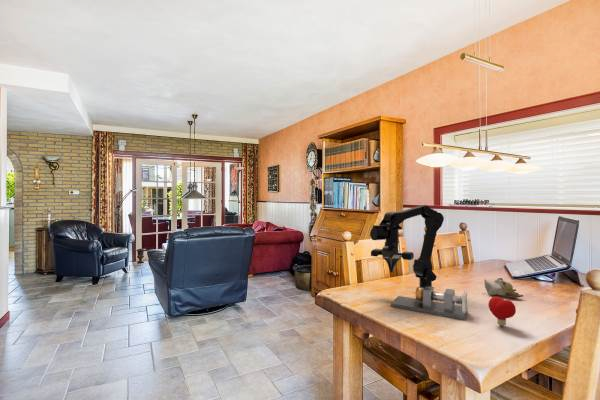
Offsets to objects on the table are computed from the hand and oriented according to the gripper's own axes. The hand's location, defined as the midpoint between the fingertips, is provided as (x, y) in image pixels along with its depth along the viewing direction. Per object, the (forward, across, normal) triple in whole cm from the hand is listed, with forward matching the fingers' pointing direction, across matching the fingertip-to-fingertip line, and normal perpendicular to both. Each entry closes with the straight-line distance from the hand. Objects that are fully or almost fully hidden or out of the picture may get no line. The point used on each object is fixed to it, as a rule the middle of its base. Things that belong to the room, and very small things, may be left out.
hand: (391, 272), depth 153 cm
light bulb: (+11, +44, -14) cm, 47 cm away
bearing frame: (+11, +18, -9) cm, 23 cm away
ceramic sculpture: (+11, +44, +28) cm, 53 cm away
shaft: (+8, +22, -9) cm, 25 cm away
